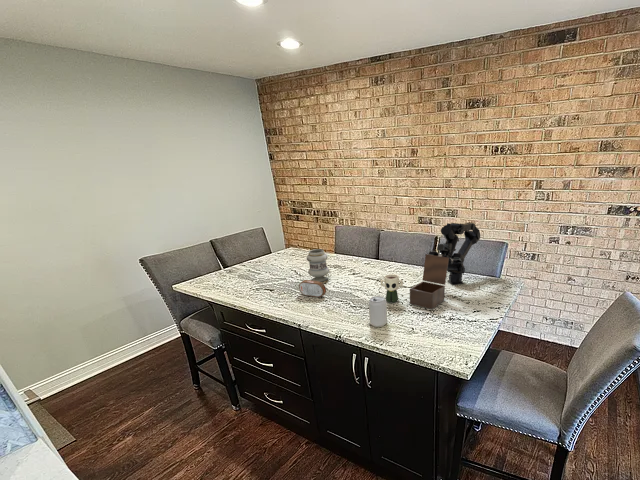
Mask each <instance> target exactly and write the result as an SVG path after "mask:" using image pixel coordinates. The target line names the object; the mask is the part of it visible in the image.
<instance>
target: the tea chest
mask: <svg viewBox="0 0 640 480" xmlns="http://www.w3.org/2000/svg"><path fill="white" fill-rule="evenodd" d="M445 292H446V285H442V284H437V283H432V282H427V281H421V282H419V283H418V284H415V285H414V286H412V287H411V288H409V304H410V305H414V306H417V307H422V308H427V309H430V310H433V309H435V308H436V307H437V306H439V305H440V304H442V303H443V302H444V301H445Z"/></svg>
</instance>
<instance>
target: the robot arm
mask: <svg viewBox="0 0 640 480" xmlns="http://www.w3.org/2000/svg"><path fill="white" fill-rule="evenodd" d="M440 233H441V235H442V237H443V238H444V240H445V242H444V243H437V246H436V250H430V251H429V252H428V255H434V256H441V257H447V258H449V261H448V268H447V273H449V274H448V280H447V282H448V283H450V284H451V285H453V286H454V285H463V284H464V281H463V274H465V271H466V267H465V265H464V262H465V258H466V257H467V255H468V253H469V251H470V250H471V248H472V246H473V245H476V244H477V243H478V242H479V241H480V240H481V237H482V235H481V231H480V229H479V228H478V227H477V226H476V223H474V222H464V223H458V222H456V223H455V222H450V223H446V224H445V225H444V226H442V227H441V228H440ZM458 235H460V236H461V235H464V242H463V243H462V245H461V247H460V248H459V250H458V251H457V252H456V250H457V249H456V247H457V244H458V243H459V242H460V238H459V236H458ZM438 251H439V252H438Z"/></svg>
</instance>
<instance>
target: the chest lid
mask: <svg viewBox="0 0 640 480" xmlns="http://www.w3.org/2000/svg"><path fill="white" fill-rule="evenodd" d="M428 254H429V253H428ZM428 254H427V253H426V254H425V257H424V265H423V273H422V282H428V283H433V284H438V285H443V286H446V282H447V274H448V271H447V268H448V261H449V258H447V257H441V256H434V255H428Z"/></svg>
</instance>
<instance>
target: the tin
mask: <svg viewBox="0 0 640 480" xmlns="http://www.w3.org/2000/svg"><path fill="white" fill-rule="evenodd" d="M298 290H299V291H300V293H301V294H302V295H303V296H306V297H313V298H322V297H324V296H325V295H326V294H327V287H326V285H325V284H324V282H323V283H321V282H319V281H312V279H303V280H302V281H301V282H300V283H299V284H298Z"/></svg>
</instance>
